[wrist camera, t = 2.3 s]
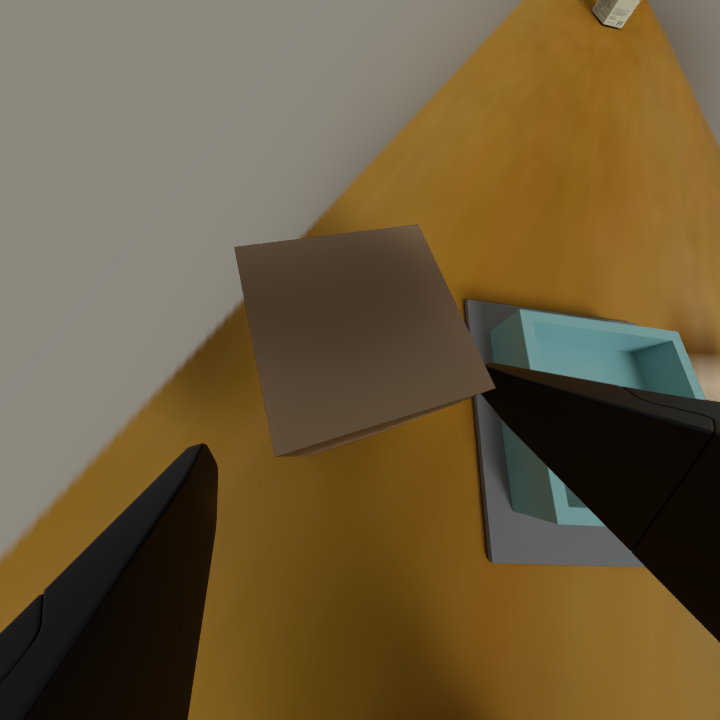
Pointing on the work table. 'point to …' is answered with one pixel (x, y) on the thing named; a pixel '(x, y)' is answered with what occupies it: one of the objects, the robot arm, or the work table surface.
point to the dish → (585, 361)
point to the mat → (504, 526)
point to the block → (354, 336)
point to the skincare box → (614, 11)
